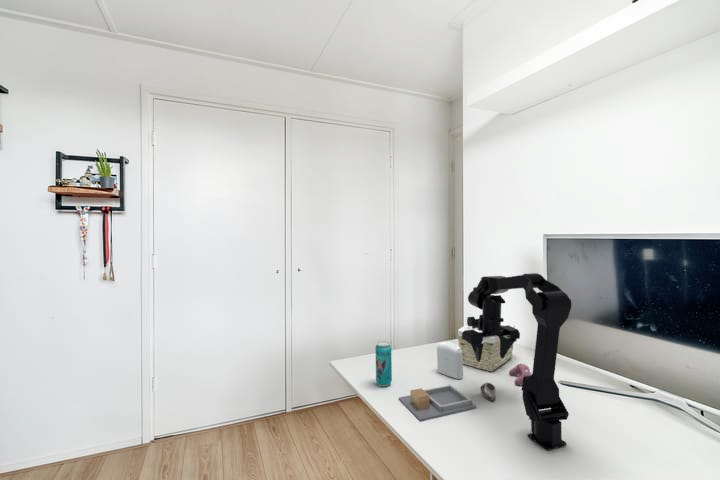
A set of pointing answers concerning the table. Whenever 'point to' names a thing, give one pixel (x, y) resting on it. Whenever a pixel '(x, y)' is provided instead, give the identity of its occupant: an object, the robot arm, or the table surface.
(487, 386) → the wristwatch
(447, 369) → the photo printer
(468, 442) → the table surface
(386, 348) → the beverage can
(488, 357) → the storage basket
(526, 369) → the video game controller
